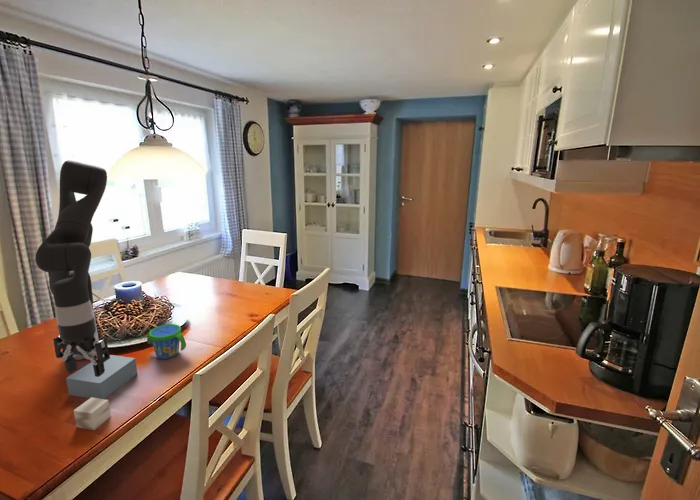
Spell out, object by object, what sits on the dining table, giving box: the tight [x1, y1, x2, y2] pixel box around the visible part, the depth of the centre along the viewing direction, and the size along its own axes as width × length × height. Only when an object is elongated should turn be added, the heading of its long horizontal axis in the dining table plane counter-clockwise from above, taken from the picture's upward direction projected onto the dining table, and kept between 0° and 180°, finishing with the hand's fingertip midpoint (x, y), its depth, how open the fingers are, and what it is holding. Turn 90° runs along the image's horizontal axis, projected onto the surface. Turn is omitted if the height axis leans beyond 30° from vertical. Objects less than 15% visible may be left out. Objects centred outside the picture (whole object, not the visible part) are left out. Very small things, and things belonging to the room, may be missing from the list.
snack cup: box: [146, 323, 187, 360], centre depth 130 cm, size 16×10×10 cm
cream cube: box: [73, 397, 112, 431], centre depth 97 cm, size 6×6×6 cm
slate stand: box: [65, 354, 138, 400], centre depth 113 cm, size 12×14×6 cm
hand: (86, 373), depth 94 cm, fingers open, 8 cm apart
